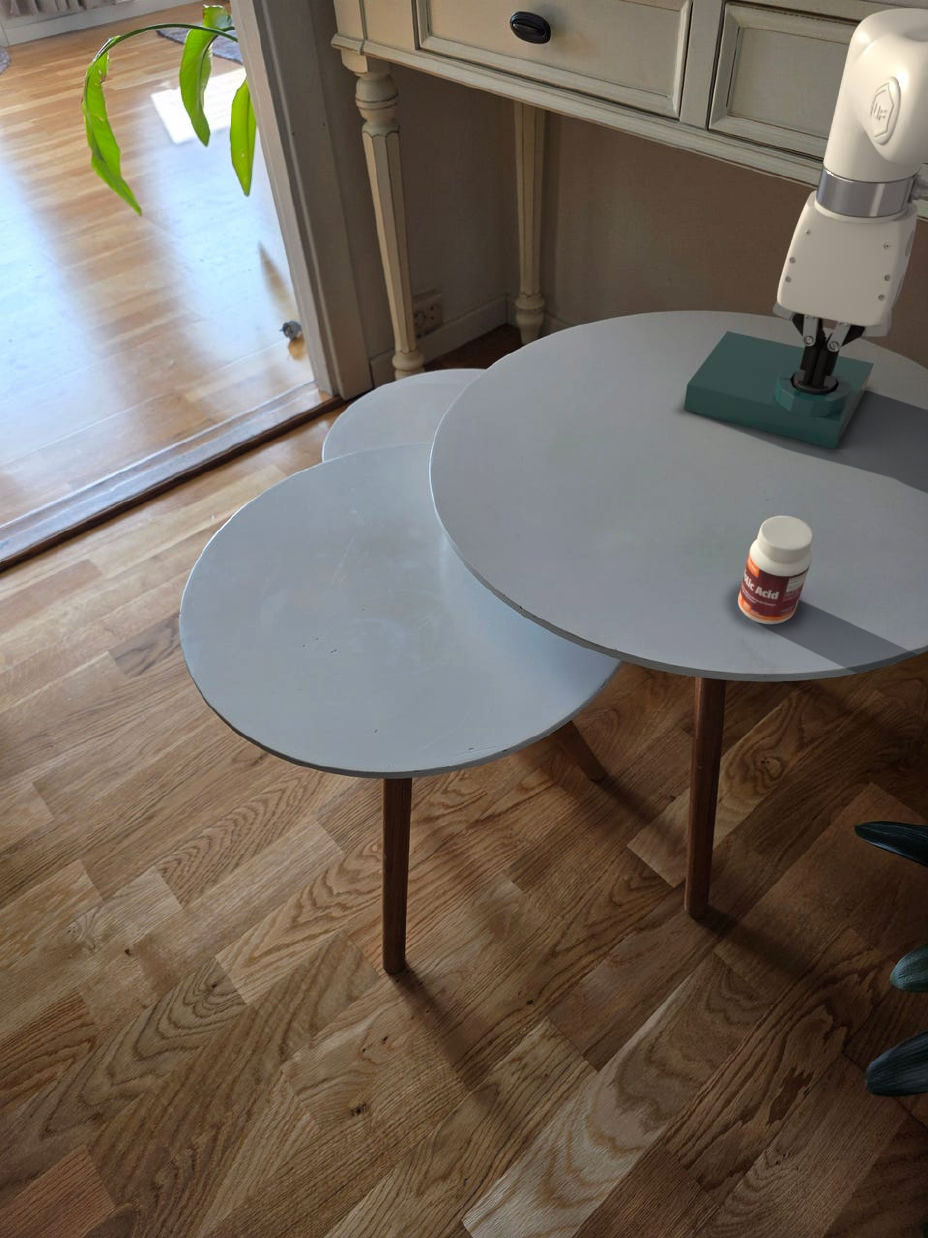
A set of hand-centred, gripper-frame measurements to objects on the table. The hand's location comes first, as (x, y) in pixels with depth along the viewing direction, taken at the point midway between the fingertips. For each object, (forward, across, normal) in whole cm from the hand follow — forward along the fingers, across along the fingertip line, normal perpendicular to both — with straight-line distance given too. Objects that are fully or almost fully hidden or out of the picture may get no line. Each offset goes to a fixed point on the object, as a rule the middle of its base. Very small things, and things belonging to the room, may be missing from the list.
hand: (814, 377), depth 87 cm
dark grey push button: (+2, 0, 0) cm, 2 cm away
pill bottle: (+6, -5, +27) cm, 28 cm away
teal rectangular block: (+5, +4, -3) cm, 7 cm away
